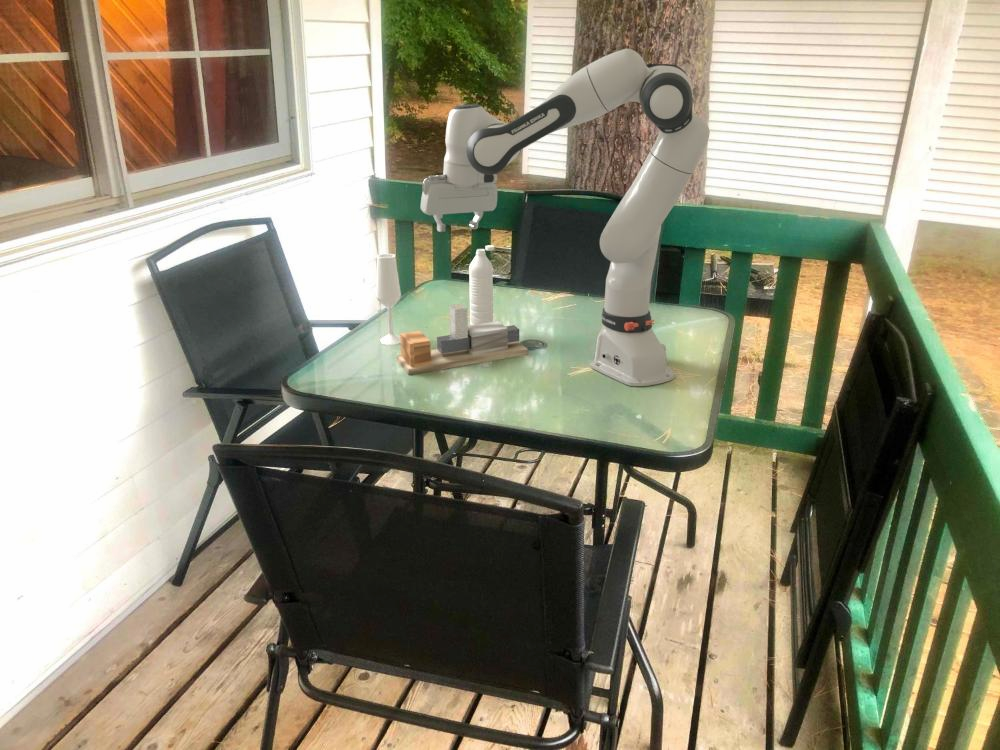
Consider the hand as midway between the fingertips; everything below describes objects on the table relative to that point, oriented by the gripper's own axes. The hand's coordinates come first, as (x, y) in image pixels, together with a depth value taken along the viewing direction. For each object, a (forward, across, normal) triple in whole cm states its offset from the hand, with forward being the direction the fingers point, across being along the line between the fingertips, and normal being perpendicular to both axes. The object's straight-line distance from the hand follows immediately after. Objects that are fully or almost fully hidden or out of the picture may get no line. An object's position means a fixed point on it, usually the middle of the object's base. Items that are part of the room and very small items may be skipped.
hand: (457, 229), depth 192 cm
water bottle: (+33, +14, +4) cm, 36 cm away
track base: (+33, 0, -7) cm, 33 cm away
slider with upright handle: (+29, +5, -7) cm, 31 cm away
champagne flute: (+35, -10, +15) cm, 40 cm away
